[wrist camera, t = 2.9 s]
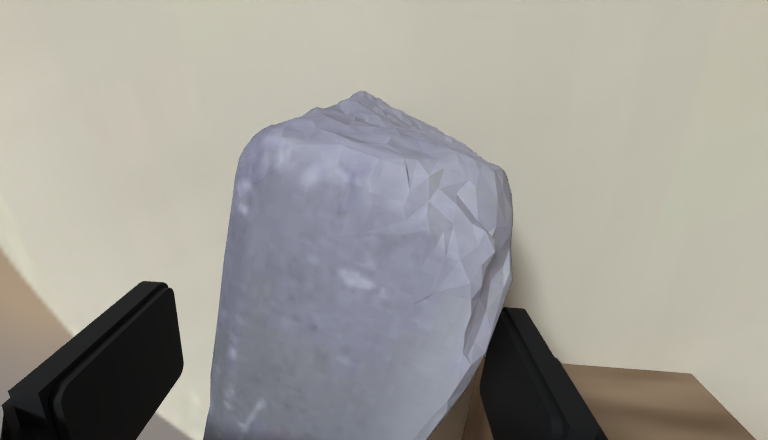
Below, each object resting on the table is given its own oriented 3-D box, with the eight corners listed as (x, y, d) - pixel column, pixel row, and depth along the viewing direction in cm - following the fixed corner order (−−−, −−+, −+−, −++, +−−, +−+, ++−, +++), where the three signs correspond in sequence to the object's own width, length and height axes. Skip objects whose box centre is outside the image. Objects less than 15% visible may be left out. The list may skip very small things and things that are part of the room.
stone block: (340, 75, 13) (202, 90, 3) (470, 117, 13) (657, 231, 4) (277, 338, 17) (140, 657, 8) (376, 363, 18) (359, 693, 8)
